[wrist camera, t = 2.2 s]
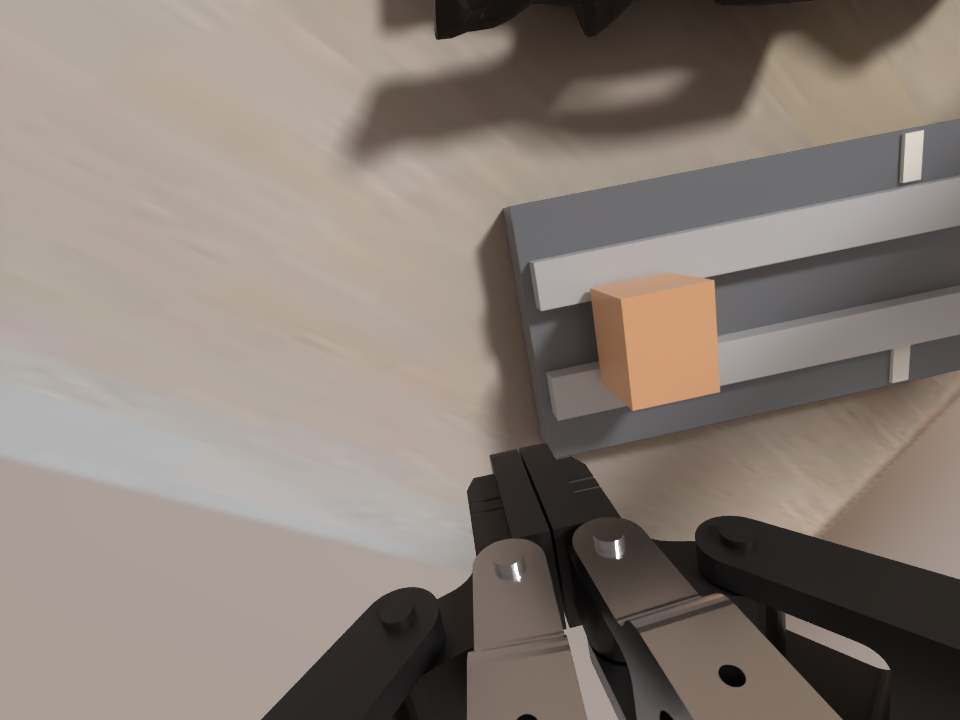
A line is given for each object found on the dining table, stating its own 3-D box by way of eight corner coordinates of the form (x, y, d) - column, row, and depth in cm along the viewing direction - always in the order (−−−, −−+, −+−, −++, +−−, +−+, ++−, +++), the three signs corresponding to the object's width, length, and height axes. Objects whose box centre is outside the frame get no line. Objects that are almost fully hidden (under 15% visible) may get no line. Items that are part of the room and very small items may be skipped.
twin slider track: (951, 121, 27) (1030, 104, 24) (933, 355, 31) (999, 371, 27) (502, 208, 26) (514, 205, 22) (541, 440, 30) (556, 469, 26)
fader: (657, 270, 25) (714, 280, 20) (665, 361, 26) (720, 392, 21) (582, 285, 25) (620, 299, 20) (594, 376, 26) (632, 410, 21)
